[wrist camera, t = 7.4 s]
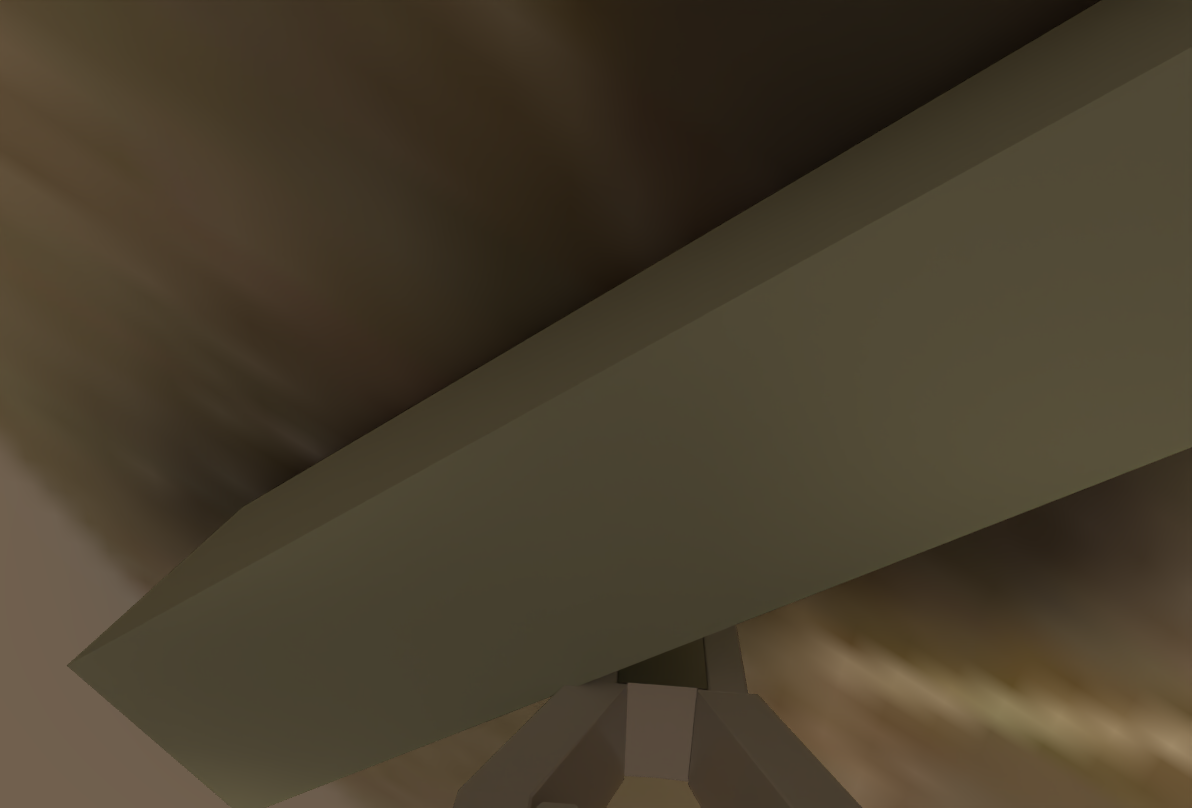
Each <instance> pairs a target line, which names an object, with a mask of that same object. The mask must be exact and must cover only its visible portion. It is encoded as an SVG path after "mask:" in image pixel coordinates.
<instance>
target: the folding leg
mask: <svg viewBox="0 0 1192 808" xmlns="http://www.w3.org/2000/svg"><path fill="white" fill-rule="evenodd" d="M1191 447H1192V0H1101V1H1099V2H1098V3H1096V4H1094V5H1093V6H1091V7H1089V8H1088V9H1086V10H1084V11H1082V12H1081V13H1079V14H1077V15H1076V16H1074V17H1072V18H1071V19H1069V20H1067V21H1065V22H1064V23H1062V24H1060V25H1059V26H1057V27H1055V28H1054V29H1052V30H1050V31H1049V32H1047V33H1045V34H1043V35H1042V36H1040V37H1038V38H1037V39H1035V40H1033V41H1032V42H1030V43H1028V44H1027V45H1025V46H1023V47H1021V48H1020V49H1018V50H1016V51H1015V52H1013V53H1011V54H1010V55H1008V56H1006V57H1004V58H1003V59H1001V60H999V61H998V62H996V63H994V64H993V65H991V66H989V67H988V68H986V69H984V70H982V71H981V72H979V73H977V74H976V75H974V76H972V77H971V78H969V79H967V80H966V81H964V82H962V83H960V84H959V85H957V86H955V87H954V88H952V89H950V90H949V91H947V92H945V93H943V94H942V95H940V96H938V97H937V98H935V99H933V100H932V101H930V102H928V103H927V104H925V105H923V106H921V107H920V108H918V109H916V110H915V111H913V112H911V113H910V114H908V115H906V116H905V117H903V118H901V119H899V120H898V121H896V122H894V123H893V124H891V125H889V126H888V127H886V128H884V129H882V130H881V131H879V132H877V133H876V134H874V135H872V136H871V137H869V138H867V139H866V140H864V141H862V142H860V143H859V144H857V145H855V146H854V147H852V148H850V149H849V150H847V151H845V152H844V153H842V154H840V155H838V156H837V157H835V158H833V159H832V160H830V161H828V162H827V163H825V164H823V165H821V166H820V167H818V168H816V169H815V170H813V171H811V172H810V173H808V174H806V175H805V176H803V177H801V178H799V179H798V180H796V181H794V182H793V183H791V184H789V185H788V186H786V187H784V188H783V189H781V190H779V191H777V192H776V193H774V194H772V195H771V196H769V197H767V198H766V199H764V200H762V201H760V202H759V203H757V204H755V205H754V206H752V207H750V208H749V209H747V210H745V211H744V212H742V213H740V214H738V215H737V216H735V217H733V218H732V219H730V220H728V221H727V222H725V223H723V224H721V225H720V226H718V227H716V228H715V229H713V230H711V231H710V232H708V233H706V234H705V235H703V236H701V237H699V238H698V239H696V240H694V241H693V242H691V243H689V244H688V245H686V246H684V247H683V248H681V249H679V250H677V251H676V252H674V253H672V254H671V255H669V256H667V257H666V258H664V259H662V260H660V261H659V262H657V263H655V264H654V265H652V266H650V267H649V268H647V269H645V270H644V271H642V272H640V273H638V274H637V275H635V276H633V277H632V278H630V279H628V280H627V281H625V282H623V283H622V284H620V285H618V286H616V287H615V288H613V289H611V290H610V291H608V292H606V293H605V294H603V295H601V296H599V297H598V298H596V299H594V300H593V301H591V302H589V303H588V304H586V305H584V306H583V307H581V308H579V309H577V310H576V311H574V312H572V313H571V314H569V315H567V316H566V317H564V318H562V319H561V320H559V321H557V322H555V323H554V324H552V325H550V326H549V327H547V328H545V329H544V330H542V331H540V332H538V333H537V334H535V335H533V336H532V337H530V338H528V339H527V340H525V341H523V342H522V343H520V344H518V345H516V346H515V347H513V348H511V349H510V350H508V351H506V352H505V353H503V354H501V355H500V356H498V357H496V358H494V359H493V360H491V361H489V362H488V363H486V364H484V365H483V366H481V367H479V368H477V369H476V370H474V371H472V372H471V373H469V374H467V375H466V376H464V377H462V378H461V379H459V380H457V381H455V382H454V383H452V384H450V385H449V386H447V387H445V388H444V389H442V390H440V391H439V392H437V393H435V394H433V395H432V396H430V397H428V398H427V399H425V400H423V401H422V402H420V403H418V404H416V405H415V406H413V407H411V408H410V409H408V410H406V411H405V412H403V413H401V414H400V415H398V416H396V417H394V418H393V419H391V420H389V421H388V422H386V423H384V424H383V425H381V426H379V427H378V428H376V429H374V430H372V431H371V432H369V433H367V434H366V435H364V436H362V437H361V438H359V439H357V440H355V441H354V442H352V443H350V444H349V445H347V446H345V447H344V448H342V449H340V450H339V451H337V452H335V453H333V454H332V455H330V456H328V457H327V458H325V459H323V460H322V461H320V462H318V463H316V464H315V465H313V466H311V467H310V468H308V469H306V470H305V471H303V472H301V473H300V474H298V475H296V476H294V477H293V478H291V479H289V480H288V481H286V482H284V483H283V484H281V485H279V486H278V487H276V488H274V489H272V490H271V491H269V492H267V493H266V494H264V495H262V496H261V497H259V498H257V499H255V500H254V501H252V502H250V503H249V504H247V505H245V506H244V507H242V508H241V509H240V510H239V511H238V512H237V513H236V514H234V515H233V516H232V517H231V518H230V519H229V520H228V521H227V522H226V523H224V524H223V525H222V526H221V527H220V528H219V529H218V530H217V531H216V532H214V533H213V534H212V535H211V536H210V537H209V538H208V539H207V540H206V541H204V542H203V543H202V544H201V545H200V546H199V547H198V548H197V549H196V550H194V551H193V552H192V553H191V554H190V555H189V556H188V557H187V558H186V559H184V560H183V561H182V562H181V563H180V564H179V565H178V566H177V567H176V568H175V569H173V570H172V571H171V572H170V573H169V574H168V575H167V576H166V577H165V578H163V579H162V580H161V581H160V582H159V583H158V584H157V585H156V586H155V587H153V588H152V589H151V590H150V591H149V592H148V593H147V594H146V595H145V596H143V597H142V598H141V599H140V600H139V601H138V602H137V603H136V604H135V605H133V606H132V607H131V608H130V609H129V610H128V611H127V612H126V613H125V614H124V615H122V616H121V617H120V618H119V619H118V620H117V621H116V622H115V623H114V624H112V625H111V626H110V627H109V628H108V629H107V630H106V631H105V632H103V633H102V634H101V635H100V636H99V637H98V638H97V639H96V640H95V641H94V642H93V643H91V644H90V645H89V646H88V647H87V648H86V649H85V650H84V651H82V652H81V653H80V654H79V655H78V656H77V657H76V658H75V659H74V660H72V661H71V662H70V663H69V664H68V665H67V666H68V667H69V668H70V669H71V670H72V671H74V672H75V673H76V674H77V675H78V676H79V677H81V678H82V679H83V680H84V681H85V682H86V683H87V684H89V685H90V686H91V687H92V688H93V689H95V690H96V691H97V692H98V693H99V694H100V695H101V696H103V697H104V698H105V699H106V700H107V701H108V702H110V703H111V704H112V705H113V706H114V707H115V708H116V709H118V710H119V711H120V712H121V713H122V714H123V715H125V716H126V717H127V718H128V719H129V720H130V721H132V722H133V723H134V724H135V725H136V726H137V727H138V728H140V729H141V730H142V731H143V732H144V733H145V734H147V735H148V736H149V737H150V738H151V739H152V740H154V741H155V742H156V743H157V744H158V745H159V746H161V747H162V748H163V749H164V750H165V751H166V752H168V753H169V754H170V755H171V756H172V757H173V758H174V759H176V760H177V761H178V762H179V763H180V764H182V765H183V766H184V767H185V768H186V769H187V770H188V771H190V772H191V773H192V774H193V775H194V776H195V777H197V778H198V779H199V780H200V781H201V782H202V783H203V784H205V785H206V786H207V787H208V788H209V789H210V790H212V791H213V792H214V793H215V794H216V795H217V796H219V797H220V798H221V799H222V800H223V801H224V802H226V803H227V804H228V805H229V806H230V807H231V808H266V807H269V806H271V805H274V804H276V803H279V802H281V801H284V800H287V799H289V798H292V797H294V796H297V795H299V794H302V793H304V792H307V791H310V790H312V789H315V788H317V787H320V786H322V785H325V784H328V783H330V782H333V781H335V780H338V779H340V778H343V777H346V776H348V775H351V774H353V773H356V772H358V771H361V770H364V769H366V768H369V767H371V766H374V765H376V764H379V763H382V762H384V761H387V760H389V759H392V758H394V757H397V756H400V755H402V754H405V753H407V752H410V751H412V750H415V749H418V748H420V747H423V746H425V745H428V744H430V743H433V742H436V741H438V740H441V739H443V738H446V737H448V736H451V735H454V734H456V733H459V732H461V731H464V730H466V729H469V728H472V727H474V726H477V725H479V724H482V723H484V722H487V721H490V720H492V719H495V718H497V717H500V716H502V715H505V714H508V713H510V712H513V711H515V710H518V709H520V708H523V707H525V706H528V705H531V704H533V703H536V702H538V701H541V700H543V699H546V698H549V697H551V696H553V695H554V694H555V693H556V692H557V691H559V690H560V689H561V688H562V687H563V686H564V685H569V686H579V685H582V684H585V683H587V682H590V681H592V680H595V679H597V678H600V677H603V676H605V675H608V674H610V673H613V672H615V671H618V670H621V669H623V668H626V667H628V666H631V665H633V664H636V663H639V662H641V661H644V660H646V659H649V658H651V657H654V656H657V655H659V654H662V653H664V652H667V651H669V650H672V649H675V648H677V647H680V646H682V645H685V644H687V643H690V642H693V641H695V640H698V639H700V638H703V637H705V636H708V635H711V634H713V633H716V632H718V631H721V630H723V629H726V628H729V627H731V626H734V625H736V624H739V623H741V622H744V621H746V620H749V619H752V618H754V617H757V616H759V615H762V614H764V613H767V612H770V611H772V610H775V609H777V608H780V607H782V606H785V605H788V604H790V603H793V602H795V601H798V600H800V599H803V598H806V597H808V596H811V595H813V594H816V593H818V592H821V591H824V590H826V589H829V588H831V587H834V586H836V585H839V584H842V583H844V582H847V581H849V580H852V579H854V578H857V577H860V576H862V575H865V574H867V573H870V572H872V571H875V570H878V569H880V568H883V567H885V566H888V565H890V564H893V563H896V562H898V561H901V560H903V559H906V558H908V557H911V556H914V555H916V554H919V553H921V552H924V551H926V550H929V549H932V548H934V547H937V546H939V545H942V544H944V543H947V542H950V541H952V540H955V539H957V538H960V537H962V536H965V535H967V534H970V533H973V532H975V531H978V530H980V529H983V528H985V527H988V526H991V525H993V524H996V523H998V522H1001V521H1003V520H1006V519H1009V518H1011V517H1014V516H1016V515H1019V514H1021V513H1024V512H1027V511H1029V510H1032V509H1034V508H1037V507H1039V506H1042V505H1045V504H1047V503H1050V502H1052V501H1055V500H1057V499H1060V498H1063V497H1065V496H1068V495H1070V494H1073V493H1075V492H1078V491H1081V490H1083V489H1086V488H1088V487H1091V486H1093V485H1096V484H1099V483H1101V482H1104V481H1106V480H1109V479H1111V478H1114V477H1117V476H1119V475H1122V474H1124V473H1127V472H1129V471H1132V470H1135V469H1137V468H1140V467H1142V466H1145V465H1147V464H1150V463H1153V462H1155V461H1158V460H1160V459H1163V458H1165V457H1168V456H1171V455H1173V454H1176V453H1178V452H1181V451H1183V450H1186V449H1188V448H1191Z"/></svg>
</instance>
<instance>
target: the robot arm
mask: <svg viewBox="0 0 1192 808" xmlns="http://www.w3.org/2000/svg"><path fill="white" fill-rule="evenodd" d="M624 776H638V777H655V778H663V779H672V780H680V781H688V785H689V787H690V789H691V790H692V792H693V794H694V796H695V797H696V799H697V801H698V802H699V804H700V806H701V808H862V807H861V806H860V805H859V804H858V803H857V802H856V800H855V799H854V798H853V797H852V796H851V795H850V794H849V793H848V792H847V791H846V790H845V788H844V787H843V786H842V785H841V784H840V783H839V782H838V781H837V780H836V779H835V778H834V777H833V775H832V774H831V773H830V772H829V771H828V770H827V769H826V768H825V767H824V766H823V765H822V763H821V762H820V761H819V760H818V759H817V758H816V757H815V756H814V755H813V754H812V753H811V752H810V750H809V749H808V748H807V747H806V746H805V745H804V744H803V743H802V742H801V741H800V740H799V738H798V737H797V736H796V735H795V734H794V733H793V732H792V731H791V730H790V729H789V728H788V727H787V725H786V724H785V723H784V722H783V721H782V720H781V719H780V718H779V717H778V716H777V715H776V713H775V712H774V711H773V710H772V709H771V708H770V707H769V706H768V705H767V704H766V703H765V702H764V700H763V699H762V698H761V697H760V696H759V695H757V694H748V690H747V684H746V679H745V673H744V667H743V661H742V655H741V649H740V643H739V637H738V632H737V626H736V625H734V626H731V627H729V628H726V629H723V630H721V631H718V632H716V633H713V634H711V635H708V636H705V637H703V638H700V639H698V640H695V641H693V642H690V643H687V644H685V645H682V646H680V647H677V648H675V649H672V650H669V651H667V652H664V653H662V654H659V655H657V656H654V657H651V658H649V659H646V660H644V661H641V662H639V663H636V664H633V665H631V666H628V667H626V668H623V669H621V670H618V671H615V672H613V673H610V674H608V675H605V676H603V677H600V678H597V679H595V680H592V681H590V682H587V683H585V684H582V685H579V686H569V685H564V686H563V687H562V688H561V689H560V690H559V691H557V692H556V693H555V694H554V695H553V696H552V697H551V698H550V699H549V700H548V701H547V702H546V703H545V704H544V705H543V706H542V707H541V708H540V709H539V710H538V711H537V712H536V713H535V714H534V715H533V716H532V717H531V718H530V719H529V720H528V721H527V722H526V723H525V724H524V725H523V726H522V727H521V728H520V729H519V730H518V731H517V732H516V733H515V734H514V735H513V736H512V737H511V738H510V739H509V740H508V741H507V742H506V743H505V744H504V745H503V746H502V747H501V748H500V749H499V750H498V751H497V752H496V753H495V754H494V755H493V756H492V757H491V758H490V759H489V760H488V761H487V762H486V763H485V764H484V765H483V766H482V767H481V768H480V769H479V770H478V771H477V772H476V773H475V774H474V775H473V776H472V777H471V778H470V779H469V780H468V781H467V782H466V783H465V784H464V785H463V786H462V787H461V788H460V789H459V790H458V793H457V797H456V800H455V803H454V806H453V808H606V807H607V805H608V803H609V802H610V800H611V799H612V797H613V796H614V794H615V793H616V791H617V790H618V788H619V787H620V785H621V784H622V782H623V780H624Z"/></svg>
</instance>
